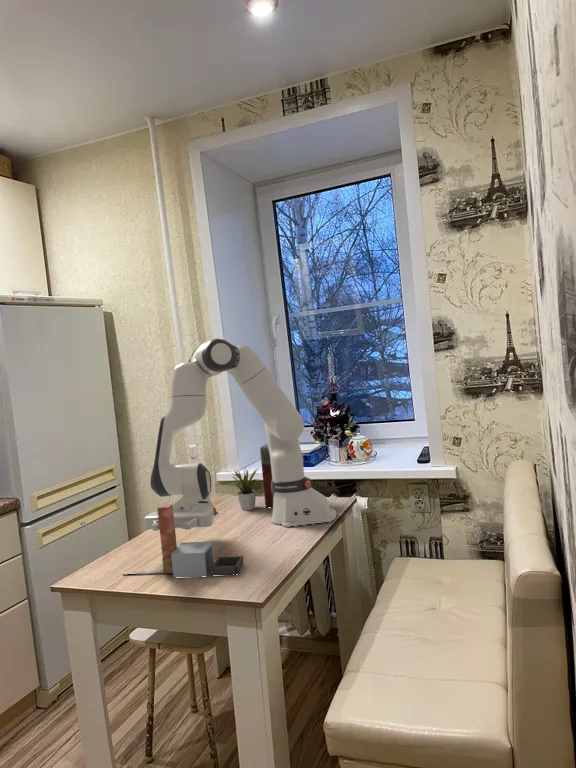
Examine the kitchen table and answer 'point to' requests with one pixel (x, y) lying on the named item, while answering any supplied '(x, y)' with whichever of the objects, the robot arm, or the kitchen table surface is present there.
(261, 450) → the toy vending machine
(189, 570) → the tunnel
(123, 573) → the rail
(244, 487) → the house plant
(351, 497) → the kitchen table surface
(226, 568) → the dark grey tray
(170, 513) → the upright post on base
